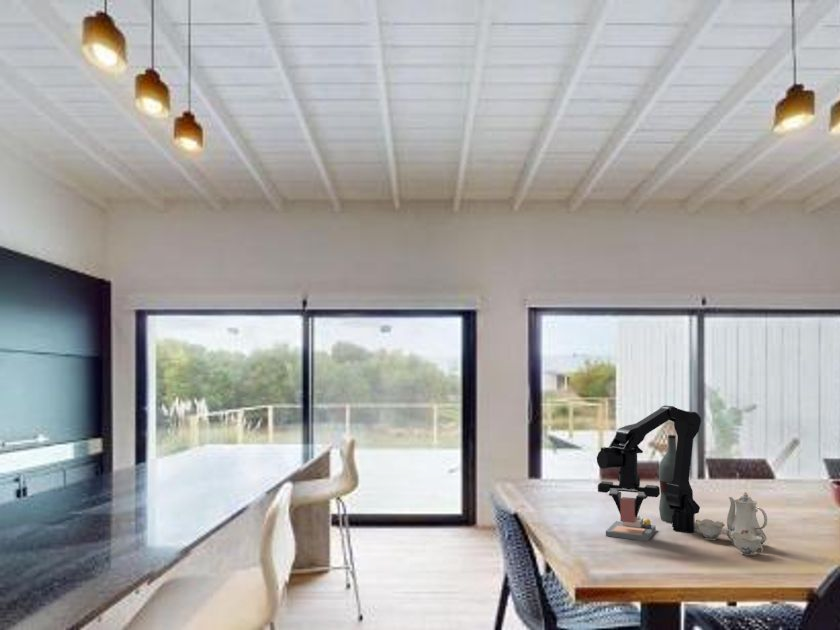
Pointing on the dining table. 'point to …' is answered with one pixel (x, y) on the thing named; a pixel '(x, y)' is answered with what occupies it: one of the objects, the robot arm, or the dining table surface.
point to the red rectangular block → (628, 509)
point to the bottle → (667, 478)
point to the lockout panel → (632, 530)
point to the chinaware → (739, 526)
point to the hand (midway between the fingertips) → (628, 515)
